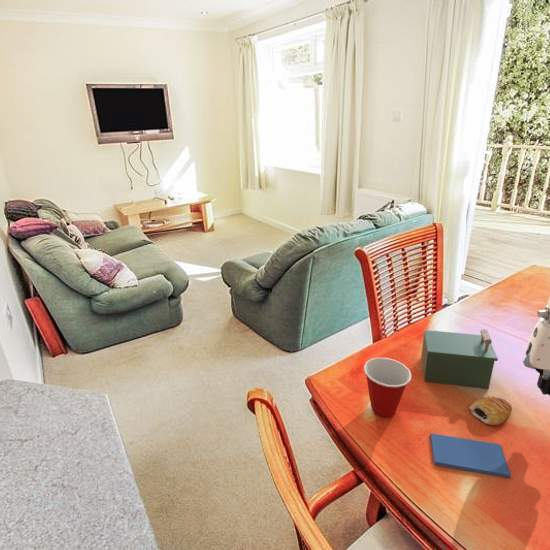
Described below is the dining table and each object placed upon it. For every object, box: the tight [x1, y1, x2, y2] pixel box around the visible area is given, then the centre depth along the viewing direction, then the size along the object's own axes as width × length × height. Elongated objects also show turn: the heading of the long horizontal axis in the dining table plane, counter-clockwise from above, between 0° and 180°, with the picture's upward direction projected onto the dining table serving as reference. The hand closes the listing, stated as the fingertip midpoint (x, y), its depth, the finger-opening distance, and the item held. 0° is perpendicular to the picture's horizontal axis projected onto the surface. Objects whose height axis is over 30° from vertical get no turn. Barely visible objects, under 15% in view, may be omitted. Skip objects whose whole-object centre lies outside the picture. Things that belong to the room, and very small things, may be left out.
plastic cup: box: [363, 357, 412, 419], centre depth 90 cm, size 11×11×12 cm
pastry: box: [468, 396, 513, 426], centre depth 88 cm, size 9×7×4 cm
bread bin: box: [420, 333, 495, 390], centre depth 101 cm, size 16×11×9 cm
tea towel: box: [430, 433, 512, 479], centre depth 79 cm, size 14×8×1 cm, turn 74°
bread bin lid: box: [423, 328, 498, 362], centre depth 99 cm, size 16×11×4 cm, turn 75°
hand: (544, 390), depth 82 cm, fingers closed
